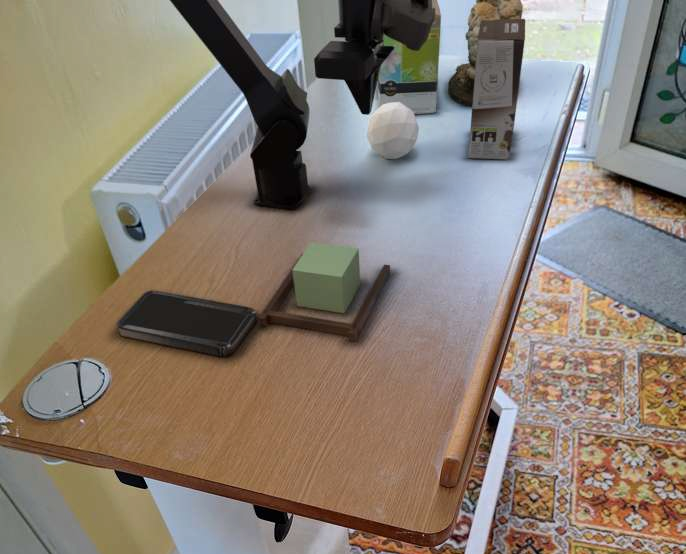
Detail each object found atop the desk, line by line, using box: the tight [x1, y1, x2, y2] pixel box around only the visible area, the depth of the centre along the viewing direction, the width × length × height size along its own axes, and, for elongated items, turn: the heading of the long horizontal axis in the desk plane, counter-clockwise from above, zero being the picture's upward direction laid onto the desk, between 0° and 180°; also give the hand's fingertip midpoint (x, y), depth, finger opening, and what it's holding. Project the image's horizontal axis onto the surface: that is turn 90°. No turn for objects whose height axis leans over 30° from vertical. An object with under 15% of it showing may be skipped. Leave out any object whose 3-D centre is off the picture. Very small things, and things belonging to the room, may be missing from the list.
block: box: [291, 241, 361, 314], centre depth 79 cm, size 6×6×5 cm
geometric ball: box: [366, 102, 420, 160], centre depth 101 cm, size 8×8×8 cm
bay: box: [258, 253, 391, 342], centre depth 80 cm, size 12×14×1 cm
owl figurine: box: [447, 0, 524, 107], centre depth 113 cm, size 18×12×17 cm, turn 170°
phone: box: [116, 289, 258, 357], centre depth 78 cm, size 8×1×15 cm
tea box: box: [377, 0, 442, 115], centre depth 113 cm, size 15×10×15 cm
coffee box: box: [467, 18, 526, 160], centre depth 98 cm, size 9×6×16 cm
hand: (366, 113), depth 88 cm, fingers closed
